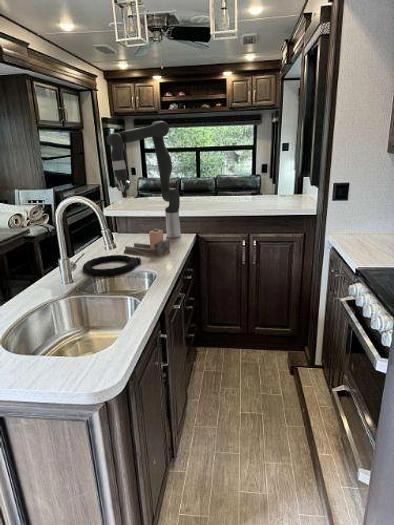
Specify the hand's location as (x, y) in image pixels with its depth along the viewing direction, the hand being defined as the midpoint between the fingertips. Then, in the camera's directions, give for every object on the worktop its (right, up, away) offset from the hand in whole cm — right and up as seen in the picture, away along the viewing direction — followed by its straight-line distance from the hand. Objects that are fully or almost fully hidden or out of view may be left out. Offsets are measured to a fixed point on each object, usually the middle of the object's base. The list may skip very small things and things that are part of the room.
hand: (125, 197), depth 215 cm
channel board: (+14, -34, -7) cm, 37 cm away
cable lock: (0, -43, -31) cm, 53 cm away
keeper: (+21, -33, -11) cm, 41 cm away
